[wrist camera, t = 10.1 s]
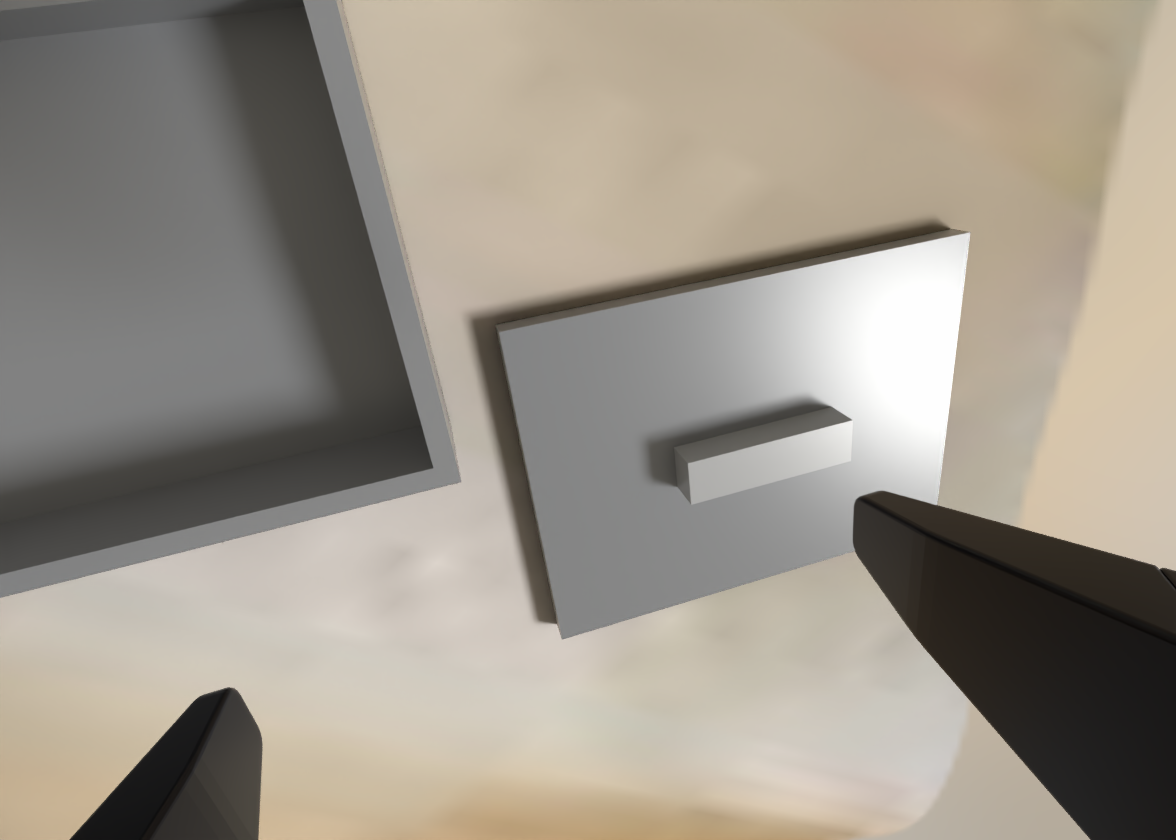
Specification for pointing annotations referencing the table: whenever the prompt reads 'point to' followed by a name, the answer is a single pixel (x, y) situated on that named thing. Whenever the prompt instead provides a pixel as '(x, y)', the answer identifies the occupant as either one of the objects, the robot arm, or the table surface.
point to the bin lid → (731, 421)
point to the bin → (197, 285)
